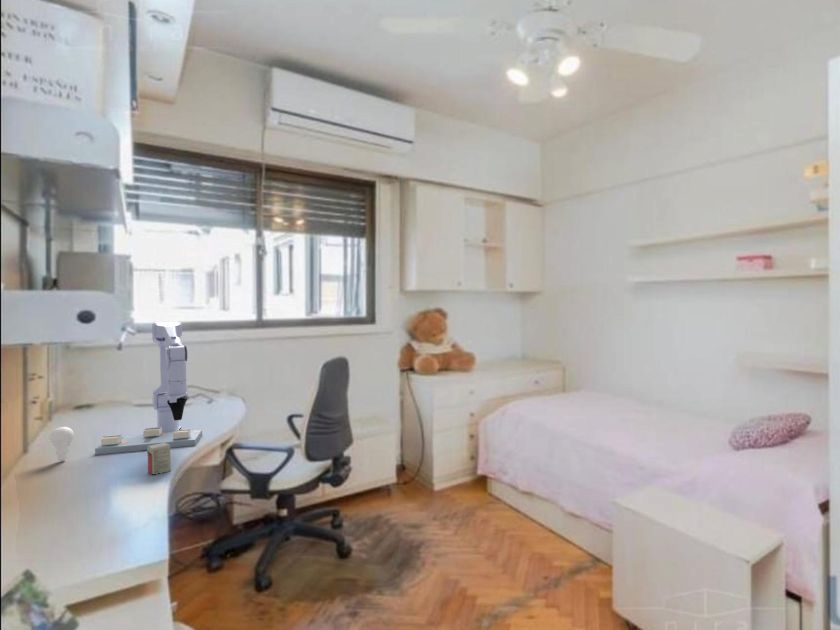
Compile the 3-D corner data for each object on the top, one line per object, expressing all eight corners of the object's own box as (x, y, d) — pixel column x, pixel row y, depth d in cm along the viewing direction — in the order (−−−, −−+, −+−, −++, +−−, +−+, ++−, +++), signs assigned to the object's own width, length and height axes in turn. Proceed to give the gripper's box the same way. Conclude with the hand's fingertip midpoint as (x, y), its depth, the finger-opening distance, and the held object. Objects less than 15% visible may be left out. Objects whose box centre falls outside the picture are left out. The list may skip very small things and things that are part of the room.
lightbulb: (61, 464, 144) (60, 429, 144) (45, 464, 146) (44, 429, 146) (79, 458, 150) (78, 425, 150) (63, 457, 152) (63, 424, 152)
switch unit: (111, 442, 169) (110, 437, 169) (202, 434, 178) (202, 429, 178) (95, 454, 154) (95, 448, 154) (195, 445, 163) (195, 439, 163)
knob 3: (175, 436, 167) (175, 429, 167) (190, 434, 169) (190, 428, 169) (173, 439, 163) (173, 432, 163) (188, 437, 165) (188, 430, 165)
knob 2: (146, 434, 171) (146, 427, 171) (161, 433, 172) (161, 426, 172) (143, 437, 167) (143, 430, 167) (159, 435, 168) (159, 428, 168)
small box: (166, 468, 139) (165, 441, 139) (171, 471, 136) (170, 444, 136) (147, 472, 136) (146, 445, 136) (152, 475, 133) (151, 448, 133)
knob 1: (105, 442, 161) (105, 435, 161) (121, 441, 162) (121, 433, 162) (101, 445, 157) (101, 438, 157) (118, 444, 159) (117, 436, 159)
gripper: (169, 378, 166) (169, 416, 166) (158, 384, 152) (159, 425, 152) (190, 377, 168) (191, 414, 168) (182, 383, 154) (183, 423, 154)
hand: (177, 419), depth 160 cm, fingers closed
